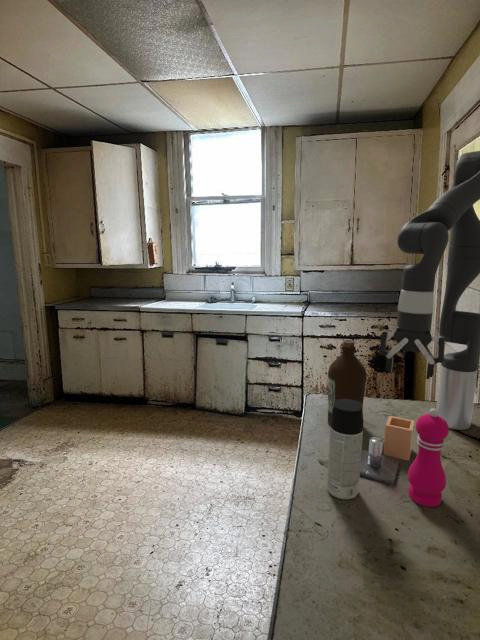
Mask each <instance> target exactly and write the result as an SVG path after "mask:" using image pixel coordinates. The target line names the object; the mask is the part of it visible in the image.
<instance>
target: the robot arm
mask: <svg viewBox="0 0 480 640" xmlns="http://www.w3.org/2000/svg"><path fill="white" fill-rule="evenodd" d="M453 175H454V176H453V187H452V188H450V189H448V190H447V191H445V192H444V193H441V195H440V196H439V197H437V199H436V200H435V201H434V202H433V203H432V204H431V205H430V206H429V207H428V208H427V209H426V210H424V211H423V212H421V213H419V214H417V215H416V216H414V217H413V218H412V219H410V220H408V221H407V222H406V223H404V225H402V227H401V229H400V230H399V232H398V234H397V245H398V248H399V249H400V251H401V252H403V253H405V254H412V255H423V256H422V257H421V259H420V261H419V262H417V263H412V264H409V265H408V264H407V265H405V267H404V268H403V271H402V276H401V285H400V287H401V288H400V289H401V290H400V293H399V298H398V304H397V315H396V317H397V318H396V327H395V331H394V332H393V331H388V330H387V329H384V330H383V331H382V332H381V336H380V344H379V348H378V349H379V350H378V354H379V355H380V356H384V357H385V358H386V360H385V361H386V363H385V371H387V373H388V374H392V372H393V367H394V366H393V365H394V355H396V354H397V353H398V352H399V351H400V350H401V351H403V352H412V353H414V354H415V353H416V354H417V353H420V352H421V354H422V355H423V357H425V359H426V361H427V368H426V377H425V378H426V380H430V379H431V378H433V376H434V372H435V371H434V370H435V365H436V364H440V371H439V382H438V383H439V384H438V391H437V392H438V393H437V399H436V400H437V401H436V406H435V407H436V408H435V409H437V410H438V412H439V414H438V416H440V417H442V418H443V419H444V420H445V421H446V422H447V424H448V427H449V429H452V430H458V431H459V430H462V431H463V430H464V431H465V430H468V429H469V428H471V425H472V416H473V409H474V402H475V395H476V386H477V379H478V378H477V377H478V371H479V363H480V362H479V361H480V312H472V311H471V312H470V311H465V310H464V311H463V310H462V311H461V310H457V305H458V303H459V300H460V298H461V297H462V295H463V293H464V292H465V291H466V289H468V287H469V286H470V285H471V283H473V282H474V280H476V278H477V277H479V275H480V218H479V217H478V215H477V213H476V211H475V207H474V205H475V204H476V203H477V202H478V201H480V150H475V151H470V152H466V153H463V154H461V155H460V156H459V157H458V159H457V160H456V163H455V168H454V174H453ZM450 230H451V231H450ZM449 231H450V232H451V234H449ZM449 235H450V237H449ZM449 238H450V240H449ZM448 245H449V247H448V249H449V250H448V254H447V255H448V258H447V266H446V267H447V271H446V282H445V290H444V298H443V301H442V307H441V314H440V319H439V327H438V328H439V329H438V336H434V335H433V336H432V333H431V331H432V320H433V312H434V303H435V297H434V292H435V283H436V276H437V275H436V274H437V271H438V269H439V265H440V263H441V261H442V258H443V256H444V253H445V250H446V249H447V246H448ZM392 337H393V338H394V340H395V342H396V344H395V345H394V346H393V347H392V348H391V349H389V350H387V344H388V341H390V339H392ZM431 342H433V343H434V345H435V347H437V356H433V354H432V352H431V350H430V349H429V348H428V345H430V344H431ZM445 343H450V344H456V345H457V344H458V345H463V346H466V348H465V349H463V350H461V351H455V352H449V353H445Z"/></svg>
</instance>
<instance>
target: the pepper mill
mask: <svg viewBox="0 0 480 640" xmlns="http://www.w3.org/2000/svg"><path fill="white" fill-rule="evenodd" d="M438 414H439V412H438V410H437V409H436V408H433V407H432V408H429V411H428V413H425V414H422V415H420V417H418V419H417V421H416V423H415V431H416V433H417V439H416V443H417V445H418V450H417V455H416V457H415V459H414V461H412V463H411V464H410V466H409V468H408V472H407V479H408V482H409V485H408V496H409V498H410V499H411V500H412V501H413V502H415V503H416V504H418V505H420V506H424V507H427V508H435V507H438V506H439V505H440V504H441V503H442V498H443V496H442V495H443V494H442V493H443V491H444V490H445V489H446V486H447V477H446V474H445V473H446V472H445V471H444V468H443V464H442V460H441V453H442V450H443V449H444V448H445V443H446V442H445V439H446V438H447V437H448V435H449V433H450V431H449V430H450V428H449V427H448V424H447V422H446V421H445V420H444V419H443V418H442V417H440V416H438Z"/></svg>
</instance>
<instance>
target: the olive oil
mask: <svg viewBox="0 0 480 640" xmlns="http://www.w3.org/2000/svg"><path fill="white" fill-rule="evenodd" d="M341 348H342V349H341V354H340V355H339V356H338V357H337V358H336V359H335V360H334V361H332V362H331V363H330V365H329V368H328V371H327V424H328V425H329V426H330V422H331V415H332V410H333V405H334V401H335V400H337V399H352V400H356V401H358V402H360V403H362V405H363V406H364V398H365V391H366V383H367V371H366V368H365V366H364V364H363V363H362V362H361V361H360V359H358V357H357V356H356V355H355V348H356V346H355V341H354V340H352V339H351V340H349V339H345V340H343V342H342V347H341Z"/></svg>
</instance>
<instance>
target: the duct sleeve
mask: <svg viewBox="0 0 480 640" xmlns="http://www.w3.org/2000/svg"><path fill="white" fill-rule="evenodd" d="M414 428H415V420H412V419H407V418H403V417H397V416H392V415H389V416H388V419H387V421H386V423H385V430H384V440H383V453H382V455H386V456H390V457H394V458H398V459H400V460H404V461H408V462H409V461H410V457H411V453H412V449H413V438H414V430H415V429H414Z"/></svg>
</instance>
